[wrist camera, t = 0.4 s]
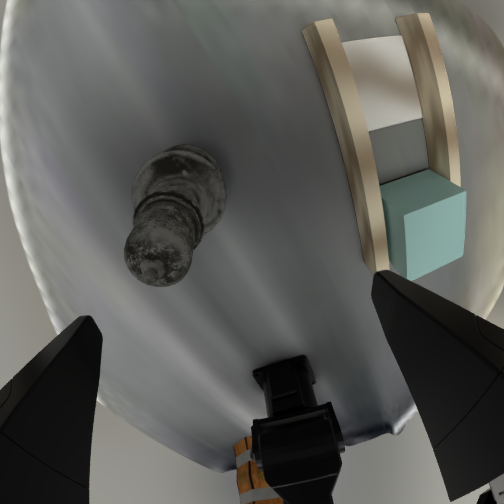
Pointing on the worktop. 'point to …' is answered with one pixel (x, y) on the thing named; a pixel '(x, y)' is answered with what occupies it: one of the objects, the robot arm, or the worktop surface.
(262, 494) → the mug
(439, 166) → the chute
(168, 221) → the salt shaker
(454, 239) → the block
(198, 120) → the worktop surface
